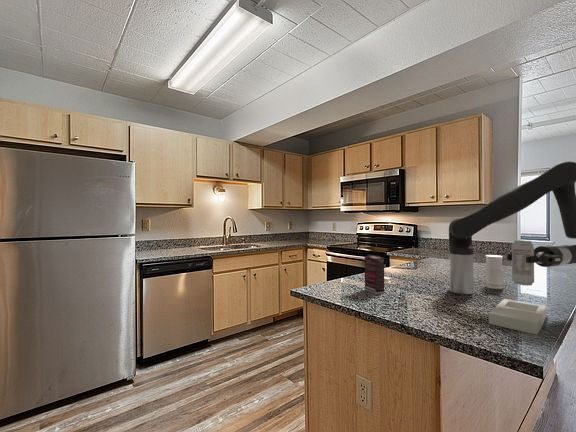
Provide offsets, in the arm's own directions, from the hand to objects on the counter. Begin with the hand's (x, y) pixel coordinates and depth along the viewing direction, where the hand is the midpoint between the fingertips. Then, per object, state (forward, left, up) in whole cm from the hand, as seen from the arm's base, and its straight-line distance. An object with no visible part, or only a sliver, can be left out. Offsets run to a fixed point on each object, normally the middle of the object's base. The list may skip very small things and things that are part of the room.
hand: (517, 258), depth 102 cm
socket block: (-1, -6, -20) cm, 21 cm away
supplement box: (-50, +12, -20) cm, 55 cm away
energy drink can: (+2, +2, -9) cm, 10 cm away
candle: (+1, +42, -20) cm, 46 cm away
